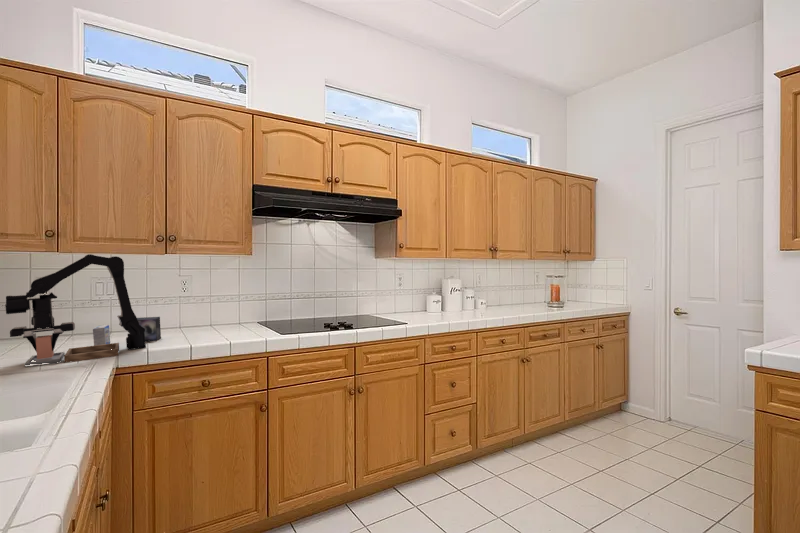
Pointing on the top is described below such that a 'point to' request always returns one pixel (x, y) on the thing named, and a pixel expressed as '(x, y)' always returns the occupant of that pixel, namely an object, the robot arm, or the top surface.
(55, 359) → the charcoal tray
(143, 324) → the small box
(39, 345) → the brick block
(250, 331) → the top surface
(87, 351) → the frame
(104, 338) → the medicine box
